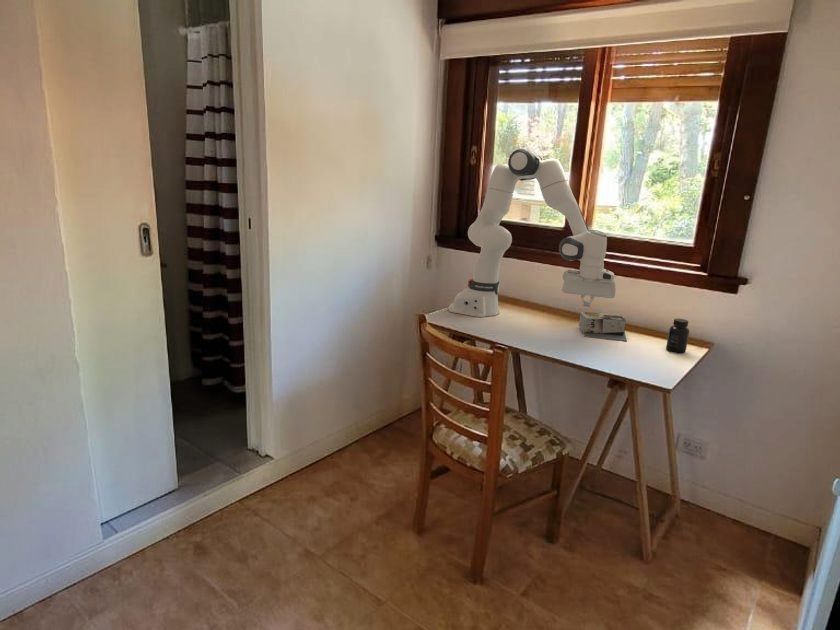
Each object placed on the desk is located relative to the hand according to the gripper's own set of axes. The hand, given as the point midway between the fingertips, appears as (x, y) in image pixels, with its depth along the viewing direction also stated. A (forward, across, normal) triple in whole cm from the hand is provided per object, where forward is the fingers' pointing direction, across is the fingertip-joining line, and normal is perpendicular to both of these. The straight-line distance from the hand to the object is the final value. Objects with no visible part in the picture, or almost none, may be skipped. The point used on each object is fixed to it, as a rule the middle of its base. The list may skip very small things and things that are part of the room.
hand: (586, 306), depth 219 cm
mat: (+11, +8, 0) cm, 14 cm away
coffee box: (+7, -1, +1) cm, 7 cm away
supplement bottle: (+11, +34, -10) cm, 37 cm away
